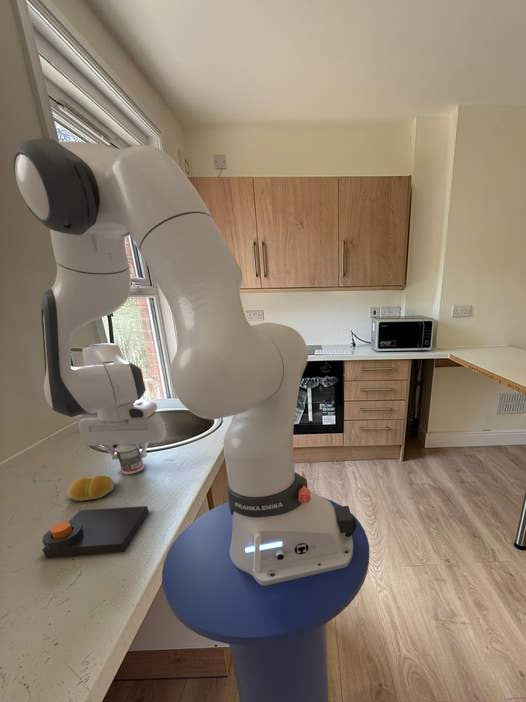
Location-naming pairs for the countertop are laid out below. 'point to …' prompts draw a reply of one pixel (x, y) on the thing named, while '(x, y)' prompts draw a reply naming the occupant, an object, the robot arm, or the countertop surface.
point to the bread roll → (90, 488)
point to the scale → (97, 532)
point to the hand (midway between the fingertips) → (130, 457)
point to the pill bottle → (129, 457)
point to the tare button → (61, 530)
